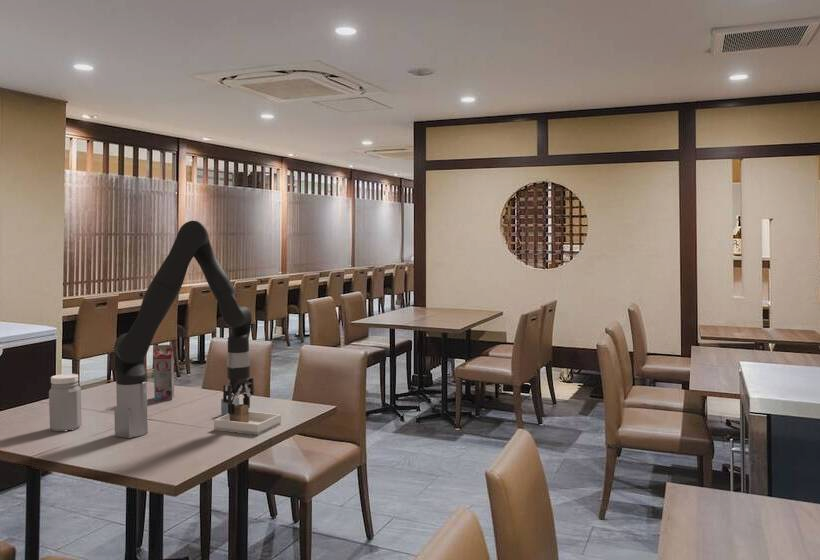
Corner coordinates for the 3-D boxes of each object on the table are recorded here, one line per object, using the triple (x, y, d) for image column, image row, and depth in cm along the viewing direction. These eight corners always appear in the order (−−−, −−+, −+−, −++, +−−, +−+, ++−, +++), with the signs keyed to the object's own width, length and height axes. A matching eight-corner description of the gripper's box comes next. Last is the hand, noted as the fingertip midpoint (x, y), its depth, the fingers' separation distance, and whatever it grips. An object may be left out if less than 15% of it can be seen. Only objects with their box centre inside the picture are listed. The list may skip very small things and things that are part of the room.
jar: (65, 433, 210) (64, 379, 209) (42, 431, 213) (41, 377, 212) (88, 425, 220) (87, 374, 219) (66, 423, 223) (64, 372, 222)
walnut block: (229, 424, 218) (229, 407, 218) (237, 421, 222) (237, 404, 222) (241, 425, 216) (240, 408, 216) (248, 422, 221) (248, 405, 220)
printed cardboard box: (172, 400, 257) (171, 345, 256) (154, 401, 255) (153, 346, 254) (174, 396, 263) (173, 343, 262) (157, 397, 262) (156, 344, 260)
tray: (258, 435, 209) (258, 424, 208) (214, 429, 215) (213, 419, 215) (280, 424, 221) (280, 414, 221) (238, 419, 227) (238, 410, 227)
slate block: (231, 416, 232) (231, 400, 232) (221, 415, 234) (221, 399, 233) (239, 413, 236) (238, 397, 236) (229, 412, 238) (228, 396, 237)
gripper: (241, 360, 226) (242, 405, 227) (216, 367, 213) (216, 415, 214) (259, 361, 224) (260, 407, 224) (235, 369, 210) (235, 417, 211)
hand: (239, 411), depth 219 cm, fingers open, 8 cm apart
